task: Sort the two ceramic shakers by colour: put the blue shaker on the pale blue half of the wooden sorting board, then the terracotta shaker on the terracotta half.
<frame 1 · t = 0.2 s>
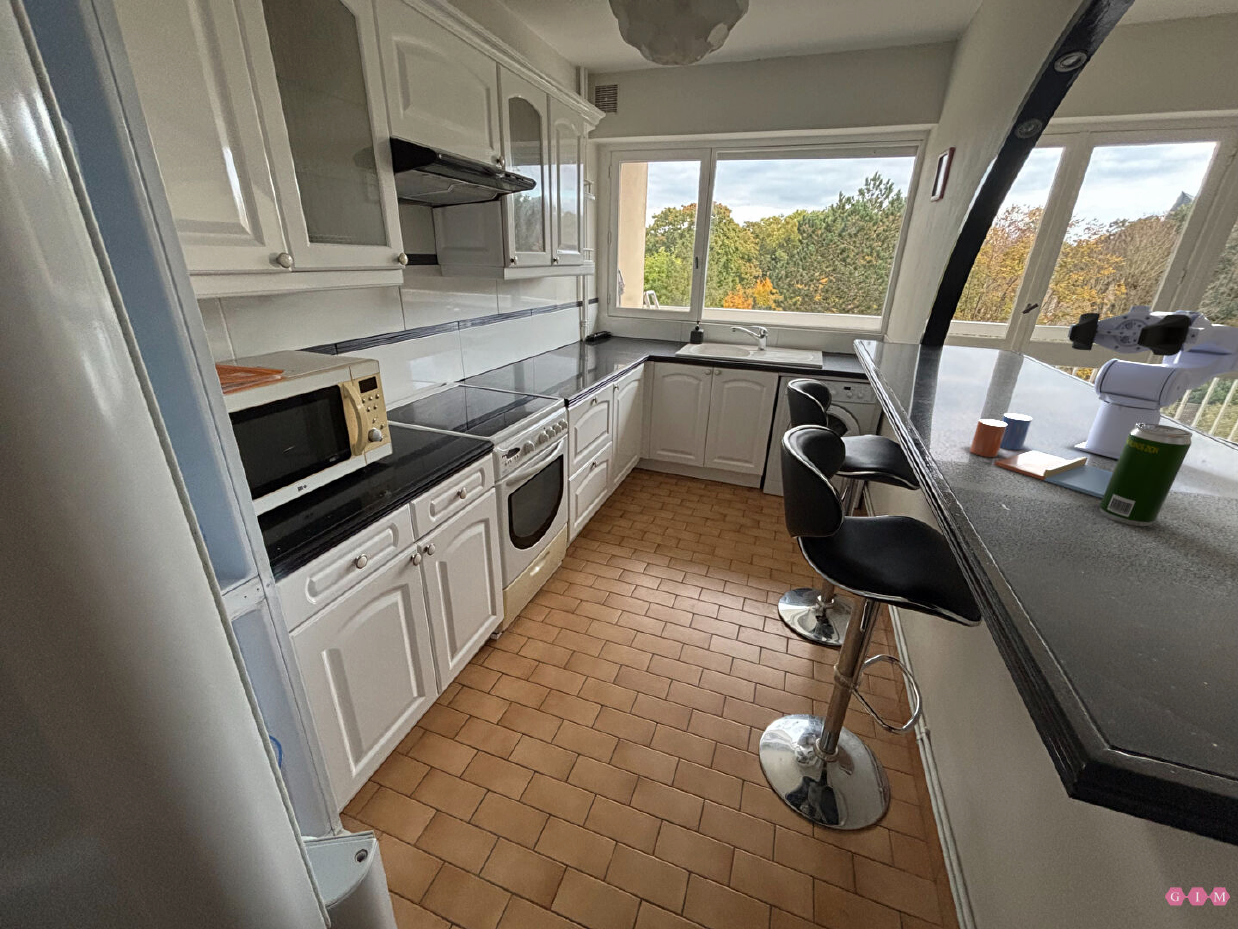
hand: (1106, 334, 72), 21 cm above the countertop, tool horizontal, fingers open, 7 cm apart
green drink can: (1124, 518, 66), on the countertop
terracotta shaker: (983, 452, 87), on the countertop
sorting board: (1063, 473, 79), on the countertop
blue shaker: (1008, 446, 91), on the countertop
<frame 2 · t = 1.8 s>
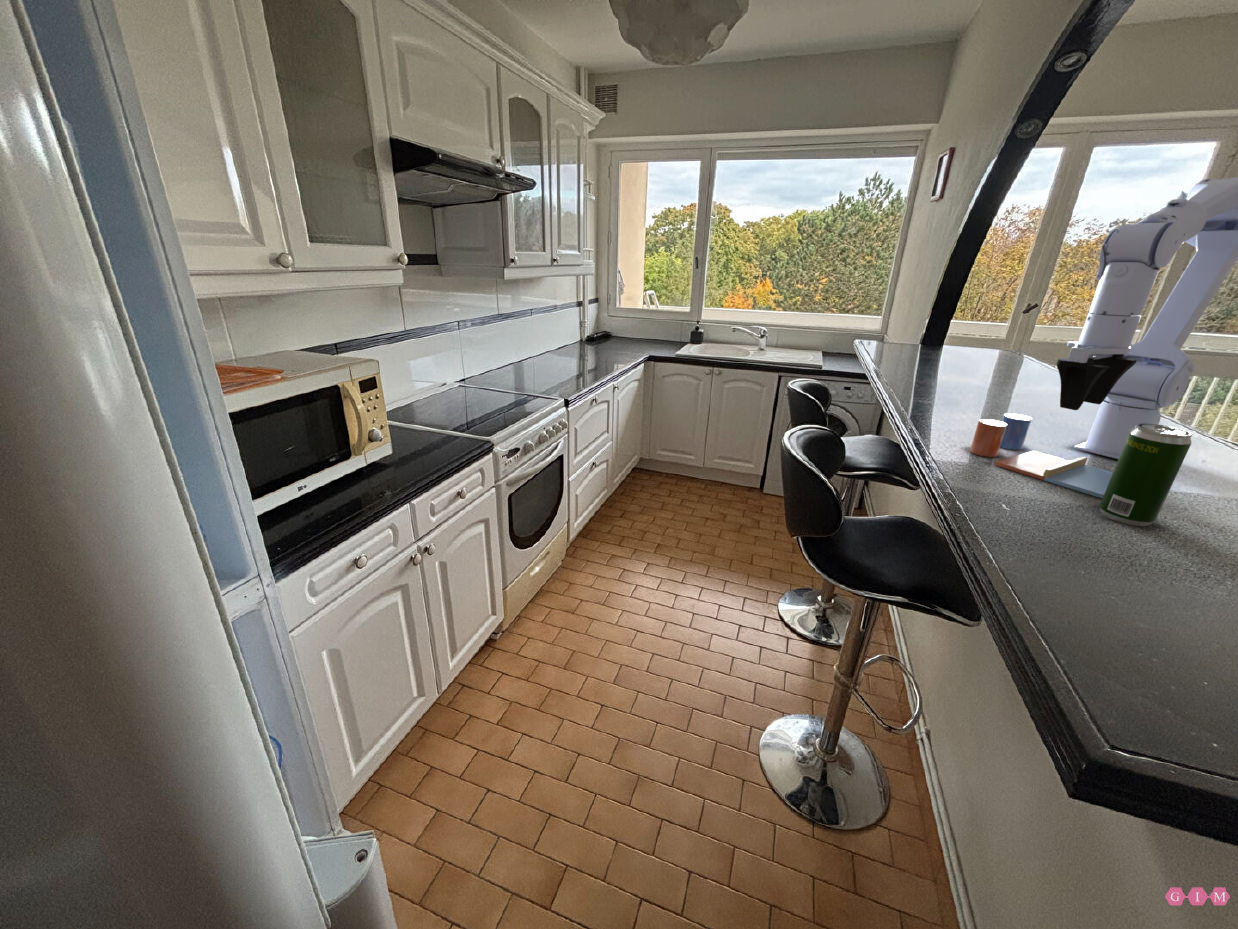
hand: (1080, 405, 78), 10 cm above the countertop, tool pointing down, fingers open, 7 cm apart
nothing on the countertop moved.
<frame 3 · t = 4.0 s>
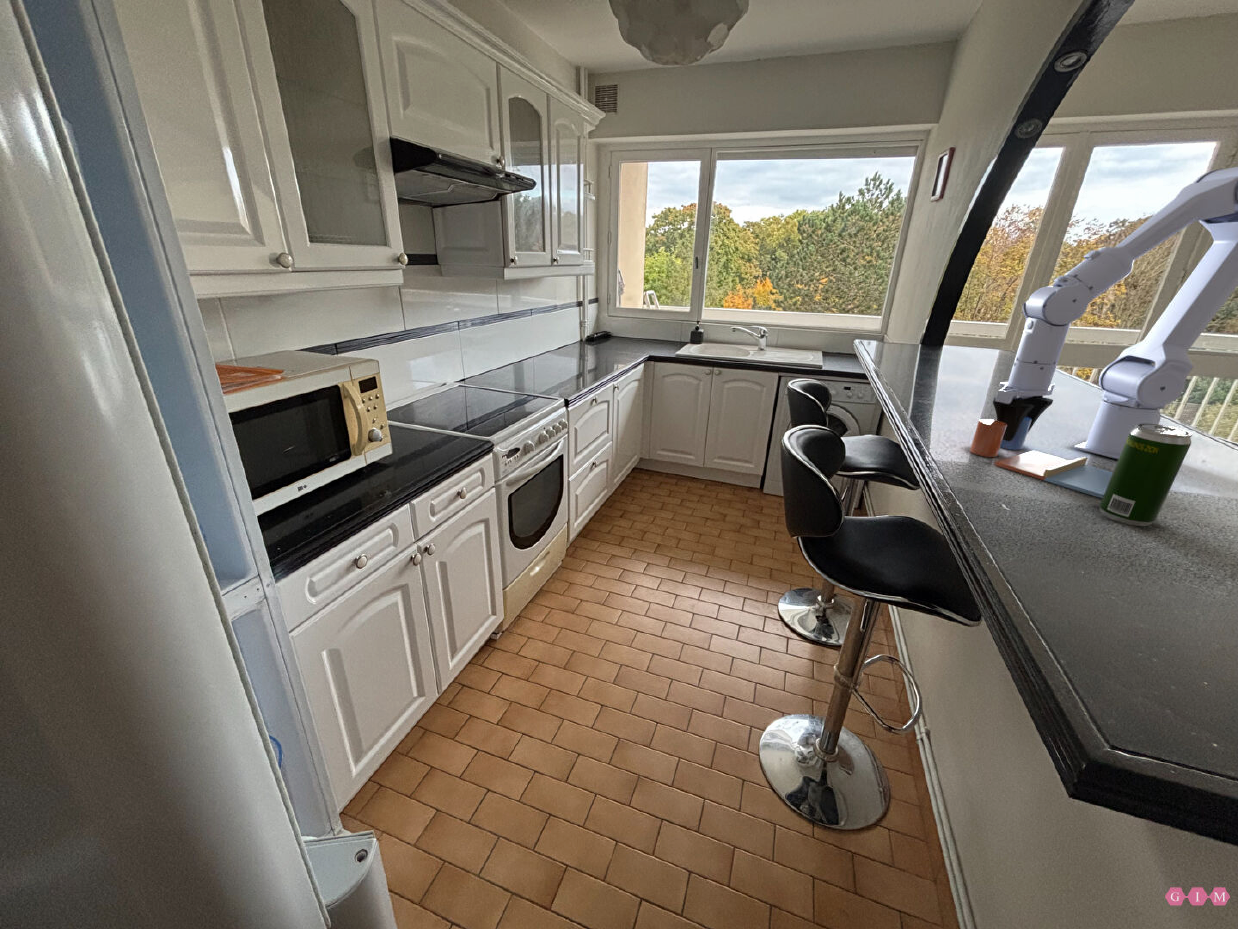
hand: (1011, 437, 90), 2 cm above the countertop, tool pointing down, fingers closed on blue shaker, 4 cm apart
blue shaker: (1008, 446, 91), on the countertop, touching gripper
everything else where it was.
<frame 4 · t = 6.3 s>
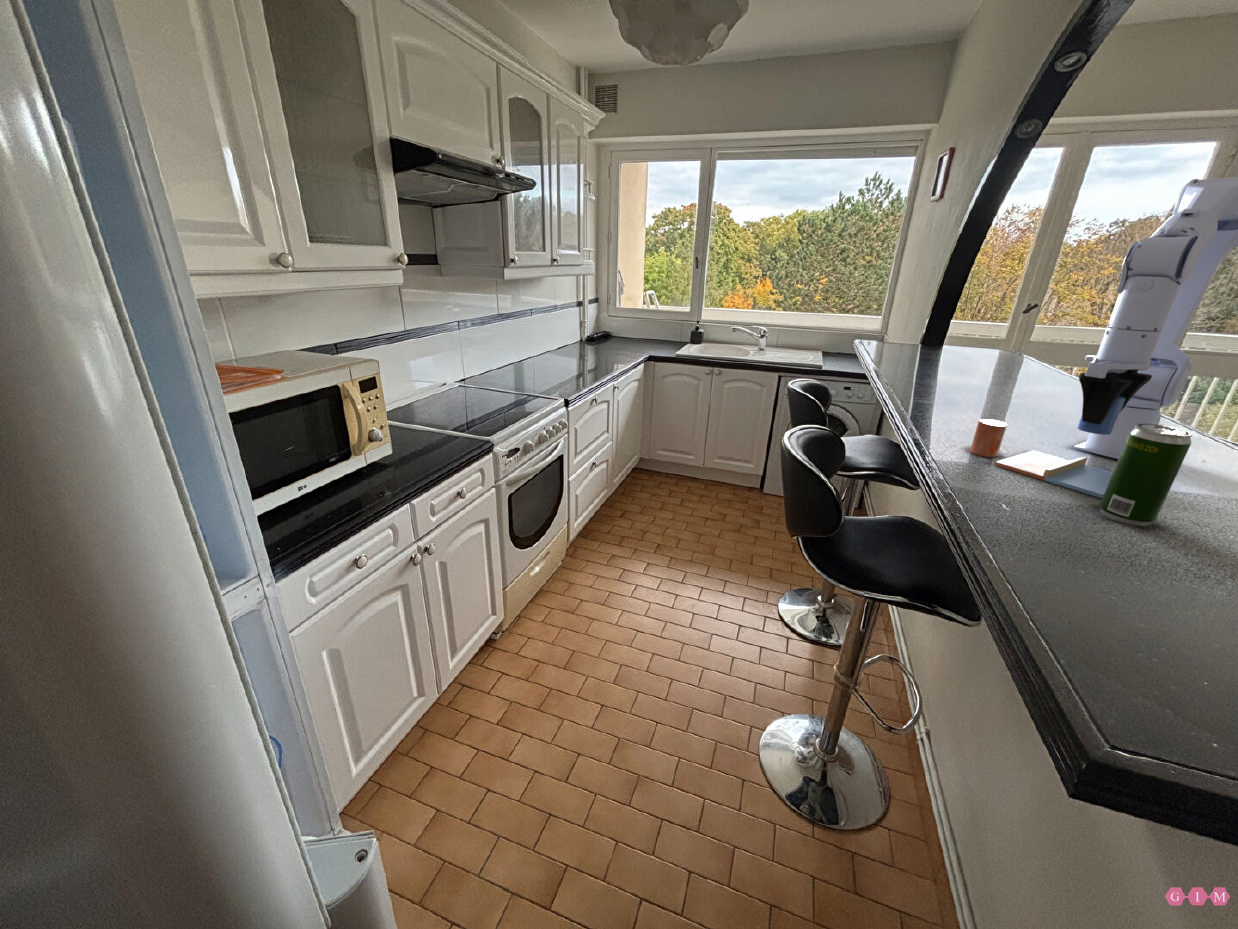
hand: (1098, 420, 77), 8 cm above the countertop, tool pointing down, fingers closed on blue shaker, 4 cm apart
blue shaker: (1093, 430, 77), point 7 cm above the countertop, touching gripper
everything else where it was.
when the fingers open (2 cm above the countertop, at t = 8.9 s): blue shaker stays where it is, resting on sorting board.
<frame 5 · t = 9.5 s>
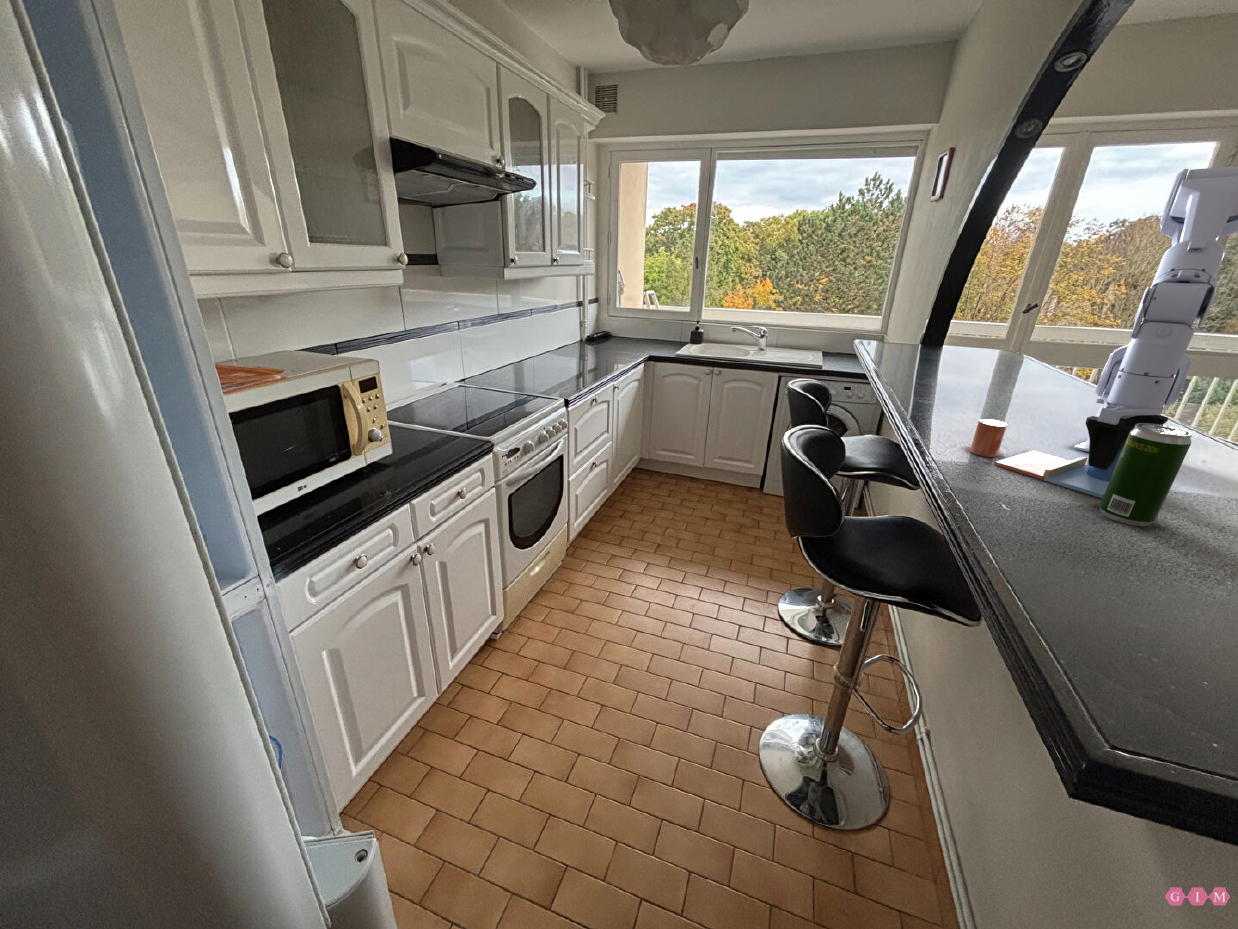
hand: (1109, 463, 76), 3 cm above the countertop, tool pointing down, fingers open, 7 cm apart
blue shaker: (1103, 476, 77), point 1 cm above the countertop, touching sorting board
everything else where it was.
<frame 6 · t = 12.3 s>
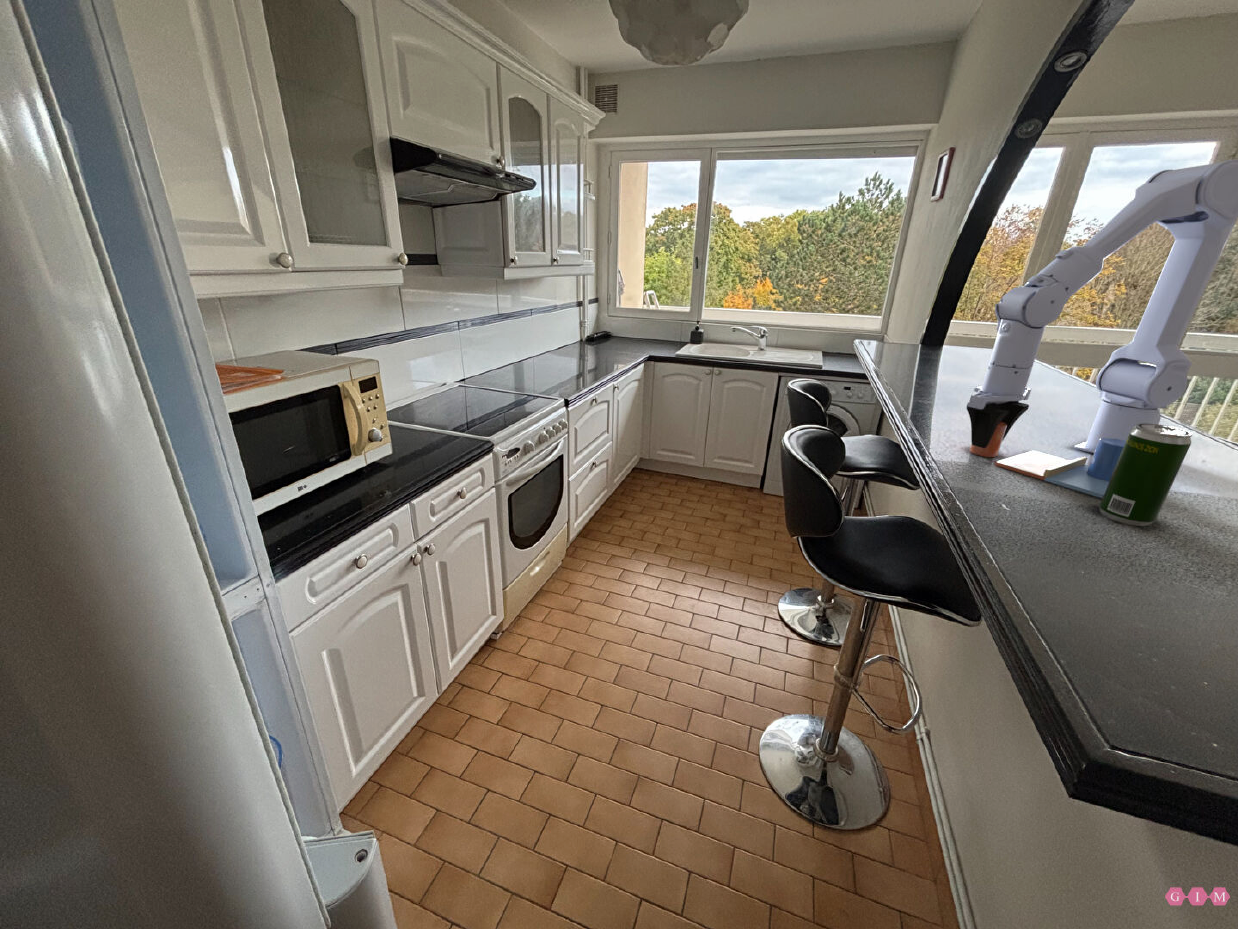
hand: (986, 444, 87), 2 cm above the countertop, tool pointing down, fingers closed on terracotta shaker, 4 cm apart
terracotta shaker: (983, 452, 87), on the countertop, touching gripper
everything else where it was.
when the fingers open (2 cm above the countertop, at t = 16.7 s): terracotta shaker stays where it is, resting on sorting board.
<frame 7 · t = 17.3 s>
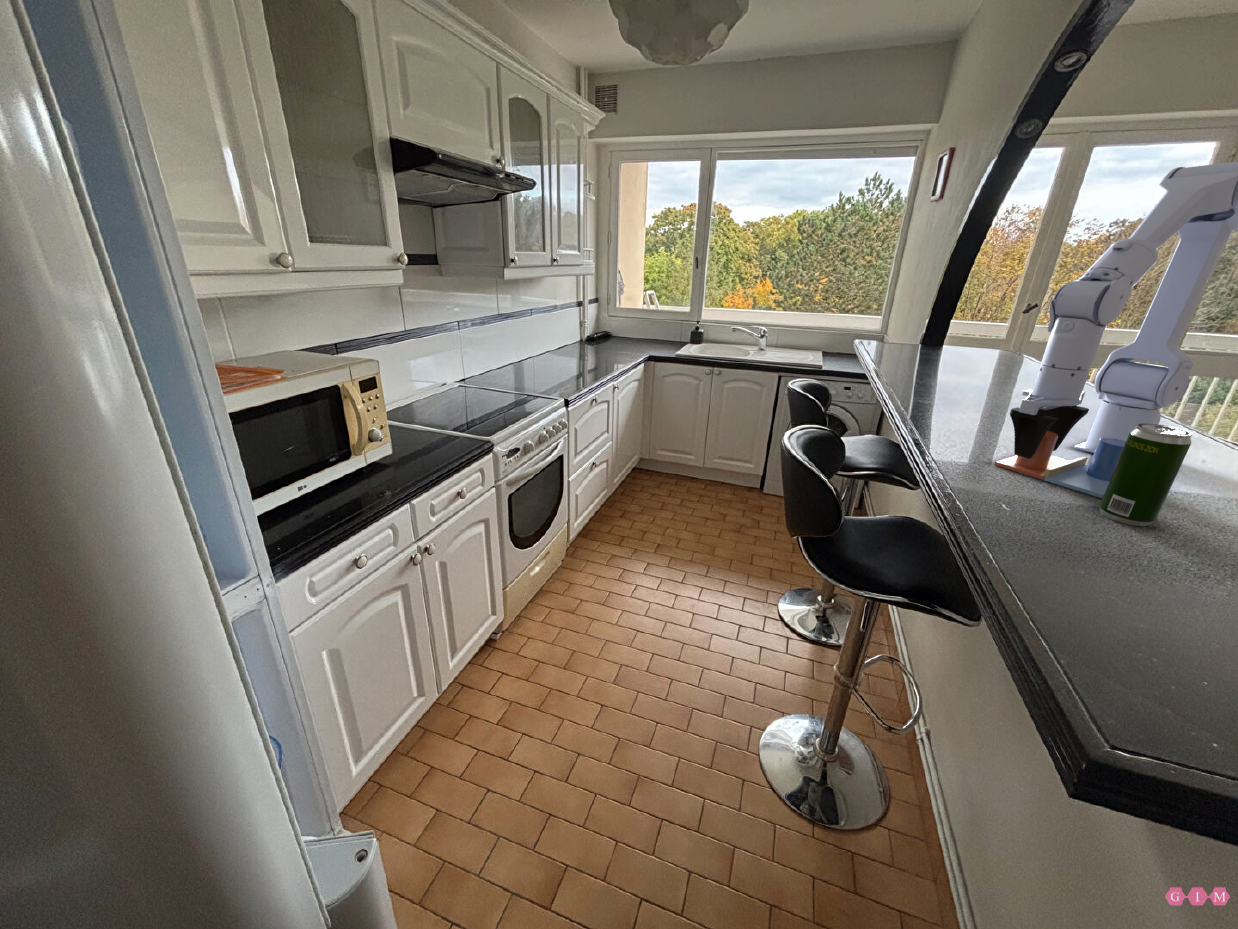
hand: (1035, 452, 80), 3 cm above the countertop, tool pointing down, fingers open, 7 cm apart
terracotta shaker: (1030, 465, 81), point 1 cm above the countertop, touching sorting board
everything else where it was.
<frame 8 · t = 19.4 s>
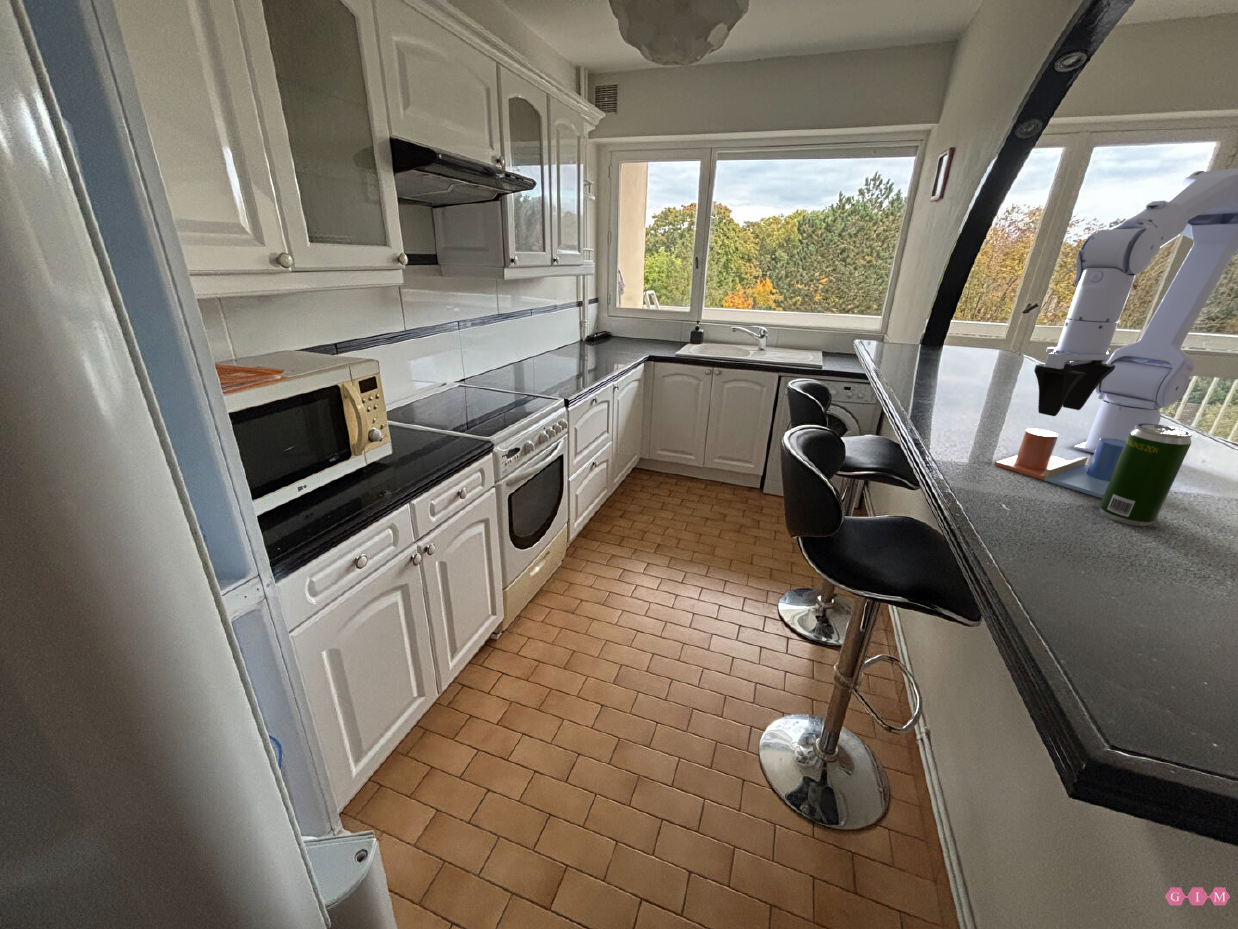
hand: (1059, 411, 78), 9 cm above the countertop, tool pointing down, fingers open, 7 cm apart
nothing on the countertop moved.
at the end: blue shaker inside the target area (2.2 cm from its centre), point 0.6 cm above the countertop; terracotta shaker inside the target area (2.9 cm from its centre), point 0.6 cm above the countertop; green drink can moved 0.2 cm from its start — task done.
